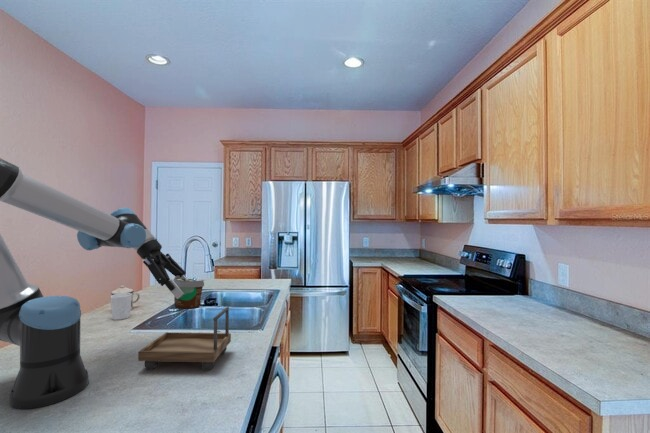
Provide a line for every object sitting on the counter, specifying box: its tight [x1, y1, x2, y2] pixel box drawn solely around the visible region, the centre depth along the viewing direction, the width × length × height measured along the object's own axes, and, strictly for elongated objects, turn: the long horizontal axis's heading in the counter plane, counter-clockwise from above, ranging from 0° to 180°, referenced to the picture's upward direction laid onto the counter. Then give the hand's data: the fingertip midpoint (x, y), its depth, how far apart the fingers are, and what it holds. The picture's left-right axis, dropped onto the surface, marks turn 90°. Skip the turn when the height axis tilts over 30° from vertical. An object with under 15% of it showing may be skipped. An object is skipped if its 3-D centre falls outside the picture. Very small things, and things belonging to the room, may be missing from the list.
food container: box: [172, 276, 205, 310], centre depth 111 cm, size 12×6×10 cm, turn 68°
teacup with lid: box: [110, 285, 140, 311], centre depth 151 cm, size 12×9×12 cm
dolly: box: [137, 306, 232, 372], centre depth 97 cm, size 15×22×15 cm
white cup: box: [110, 293, 132, 321], centre depth 139 cm, size 8×8×10 cm
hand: (186, 293), depth 111 cm, fingers closed on food container, 8 cm apart
